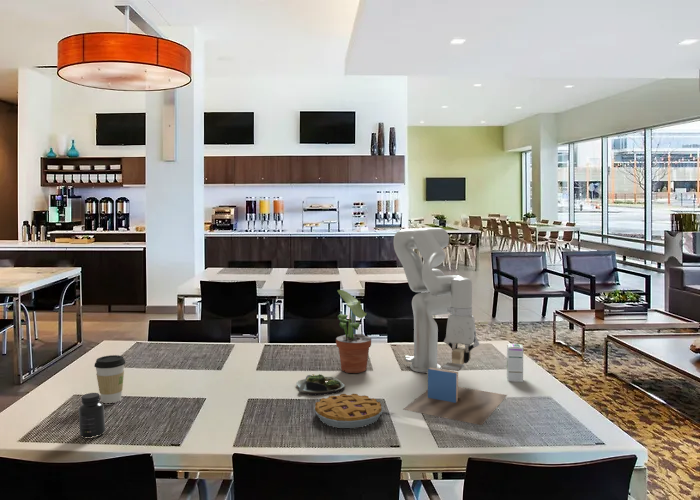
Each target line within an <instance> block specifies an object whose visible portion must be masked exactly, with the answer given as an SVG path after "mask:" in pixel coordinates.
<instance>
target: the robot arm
mask: <svg viewBox="0 0 700 500" xmlns="http://www.w3.org/2000/svg"><path fill="white" fill-rule="evenodd" d="M448 233H449V232H448V231H446V229H444V228H443V227H423V228H405V229H401V230H398V231H397V232H396V233H395V234H394V236H393V249H394V253H395V254H396V257H397V258H398V260H399V262H400V263H401V266H402V267H403V271H404V274H405V277H406V280H407V283H408V286H409V288H410V290H411V291H412V292H414V293H416V294H415V295H414V296H413V297H412V300H411V307H412V313H413V314H412V315H413V329H414V330H413V356H411V355H405V358H404V360H405V362H407V363H410V366H409V368H410V370H412V371H413V372H416V373H421V374H422V373H424V374H428V369H429V368H436V369H442V366H441V365H440V364H439V363H438V340H439V339H438V338H439V337H438V332H439V329H438V324H437V322H436V320H435V319H434V318H433V316H437V315H438V316H439V315H448V314H449V315H448V317H447V323H446V330H445V331H446V332H445V333H446V334H445V338H444V340H443V343H444V344H446V345H447V346H449V347H450V348H451V352H452V351H453V350H455V349H457V348H458V347H459V346H458V345H465V352H464V364H467V363H469V361H470V360H471V359H470V351H472V350H473V349H474V348H477V347H479V346H480V342H479V340H478V338H477V329H476V328H477V327H476V322H475V316H474V315H473V281H472V279H470V278H469V277H464V276H461V275H457V274H452V275H451V274H450V275H449V274H448V275H446V274H445V273H444V272H443V271H442V269H439V268H437V267H438V266H440V265H441V264H442V263H443V262H444V261H445V259H446V253H445V251H444V250H443V249H444V248H447V246H448V245H449V242H450V236H449V234H448ZM414 249H415V250H416V249H417V251H418V252H419V254H420V255H419V254H418V253H417V252H415V251H414ZM421 257H422V258H421ZM423 261H424V263H423Z"/></svg>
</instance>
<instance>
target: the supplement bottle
mask: <svg viewBox="0 0 700 500" xmlns="http://www.w3.org/2000/svg"><path fill="white" fill-rule="evenodd" d="M104 405H105V404H103V403H102V401H101V395H100V393H99V392H88V393H86V394H85V393H84V394H83V395H81V405H80V406H79V407H78V423H79V426H78V427H79V436H80V435H81V436H83V437H92V436H96V435H100V434H102V433H103V432H104V431H105V432H106V418H105V406H104ZM81 436H80V437H81Z"/></svg>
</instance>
